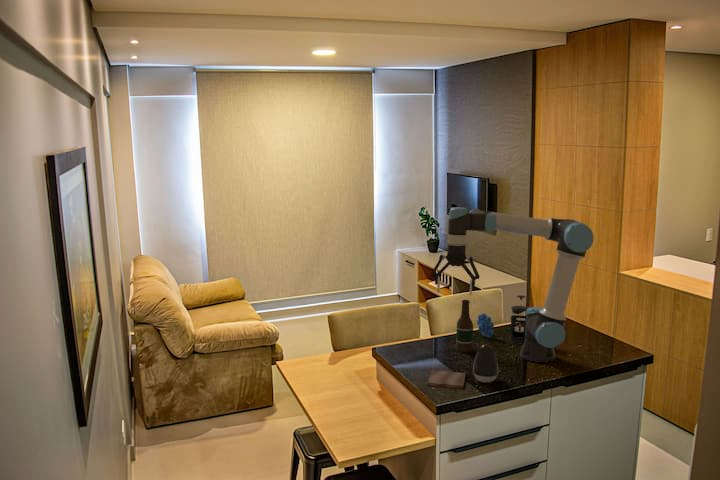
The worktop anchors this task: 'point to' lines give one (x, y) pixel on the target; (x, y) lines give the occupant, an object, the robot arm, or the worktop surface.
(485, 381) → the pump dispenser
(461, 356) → the worktop surface
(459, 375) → the walnut board
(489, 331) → the grapes
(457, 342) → the beer bottle
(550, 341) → the robot arm
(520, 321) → the french press
